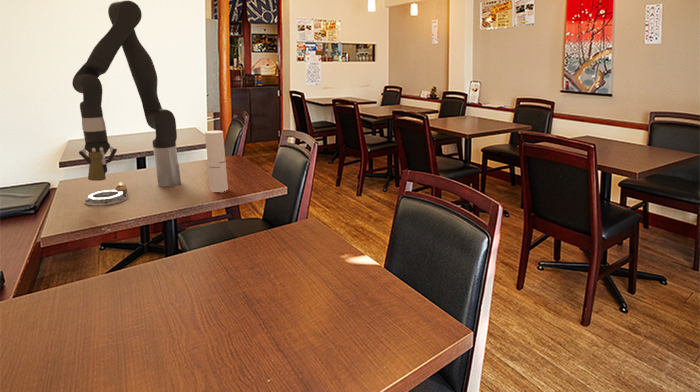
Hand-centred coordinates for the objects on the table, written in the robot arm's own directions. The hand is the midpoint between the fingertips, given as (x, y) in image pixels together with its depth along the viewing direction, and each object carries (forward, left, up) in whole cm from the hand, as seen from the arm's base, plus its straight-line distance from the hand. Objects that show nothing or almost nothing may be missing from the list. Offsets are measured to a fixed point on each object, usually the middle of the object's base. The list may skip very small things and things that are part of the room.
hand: (102, 173), depth 169 cm
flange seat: (0, 0, -11) cm, 11 cm away
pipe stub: (-6, -9, -11) cm, 15 cm away
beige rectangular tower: (-43, +6, -11) cm, 44 cm away
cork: (+2, 0, -2) cm, 3 cm away
